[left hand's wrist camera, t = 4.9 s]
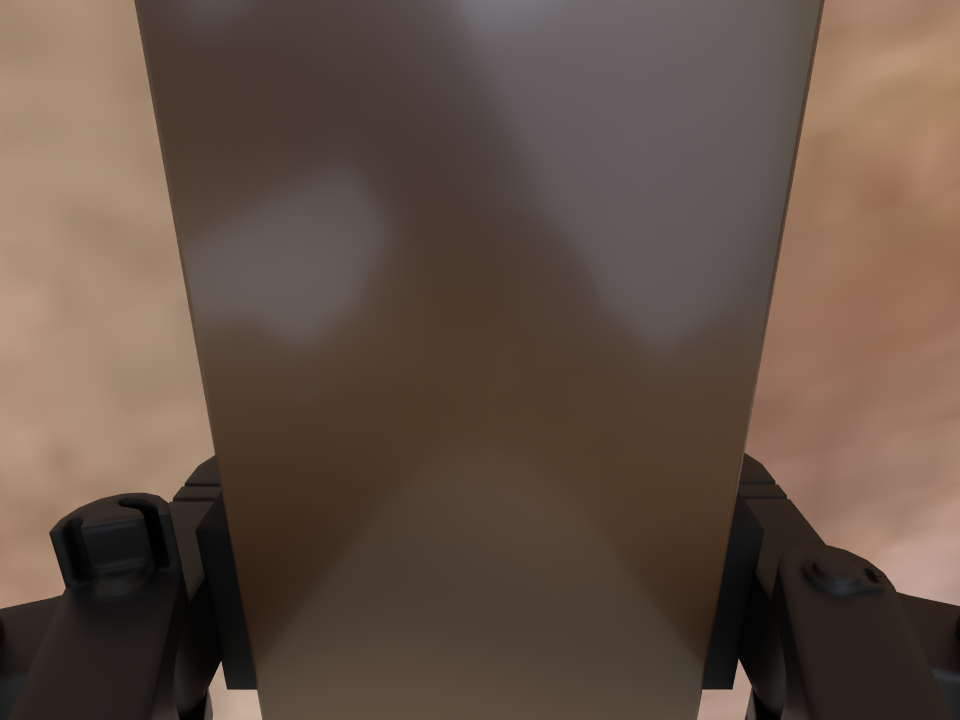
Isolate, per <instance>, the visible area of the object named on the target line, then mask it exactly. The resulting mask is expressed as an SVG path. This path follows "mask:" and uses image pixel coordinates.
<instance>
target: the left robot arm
mask: <svg viewBox="0 0 960 720" xmlns="http://www.w3.org/2000/svg"><path fill="white" fill-rule="evenodd" d="M49 534H50V537H51V540H52V544H53V547H54V550H55V553H56V557H57V560H58V563H59V566H60V570H61V573H62V576H63V580H64V583H65V586H66V589H65V591H64V593H63V595H61V596H57V597H53V598H49V599H45V600H40V601H35V602H31V603H26V604H21V605H17V606H12V607H7V608H3V609H0V720H213V710H212V703H211V698H210V693H209V685H210V683H211V681H212V679H213V677H214V675H215V673H216V670H217V668H218V666H219V664H220V662H221V661H222V666H223V671H224V676H225V681H226V686H227V690H257V686H256V680H255V675H254V669H253V663H252V658H251V652H250V647H249V641H248V635H247V630H246V624H245V618H244V613H243V607H242V602H241V596H240V590H239V585H238V579H237V573H236V568H235V562H234V557H233V551H232V545H231V540H230V534H229V529H228V523H227V517H226V512H225V506H224V500H223V495H222V489H221V484H220V478H219V472H218V467H217V461H216V455H215V456H213V457H211V458H210V459H208V460H207V461H205V462H204V463H202V464H201V465H199V466H198V467H197V468H196V470H195V471H194V472H193V473H192V475H191V476H190V477H189V479H188V480H187V481H186V482H185V487H181V489H180V490H179V491H178V492H177V494H176V495H175V496H174V497H173V502H170V503H169V504H168V503H167V502H166V501H165V500H164V499H162V498H161V497H160V496H157V495H152V494H147V493H127V494H119V495H115V496H111V497H106V498H102V499H99V500H97V501H94V502H92V503H89V504H87V505H84V506H82V507H80V508H78V509H76V510H75V511H73V512H72V513H70V514H68V515H67V516H65V517H64V518H62V519H61V520H60V521H59V522H58V523H57V524H56V525H55V527H54V528H53V529H52V530H51V531H50V532H49ZM738 659H739V660H740V662H741V664H742V666H743V668H744V670H745V672H746V674H747V677H748V679H749V681H750V683H751V685H752V688H751V693H750V698H749V702H748V707H747V711H746V716H745V720H960V606H956V605H952V604H947V603H942V602H938V601H933V600H928V599H923V598H919V597H914V596H909V595H906V594H902V593H899V592H896V590H895V587H894V586H893V585H892V583H891V582H890V581H889V579H888V578H887V576H886V575H885V574H884V573H883V572H882V571H881V570H879V569H878V568H877V567H875V566H874V565H873V564H871V563H870V562H869V561H867V560H866V559H864V558H861V557H859V556H857V555H855V554H853V553H851V552H849V551H847V550H843V549H840V548H836V547H832V546H828V545H826V544H825V543H824V542H823V540H822V539H821V538H820V537H819V535H818V534H817V533H816V532H815V530H814V529H813V528H812V527H811V525H810V524H809V523H808V522H807V520H806V519H805V518H804V517H803V515H802V514H801V513H800V511H799V510H798V509H797V508H796V506H795V505H794V504H793V503H792V501H791V500H790V499H787V495H786V494H785V493H784V491H783V490H782V489H781V488H780V486H779V485H776V484H775V480H774V479H773V478H772V476H771V475H770V474H769V473H768V471H767V470H766V469H765V468H764V466H763V465H762V464H761V463H760V462H758V461H756V460H755V459H753V458H752V457H750V456H749V455H747V454H746V453H744V457H743V463H742V468H741V474H740V480H739V485H738V491H737V497H736V502H735V508H734V513H733V519H732V525H731V530H730V536H729V542H728V547H727V553H726V559H725V564H724V570H723V575H722V581H721V587H720V592H719V598H718V604H717V609H716V615H715V621H714V626H713V632H712V637H711V643H710V649H709V654H708V660H707V666H706V671H705V677H704V683H703V688H702V689H733V684H734V679H735V674H736V669H737V664H738Z"/></svg>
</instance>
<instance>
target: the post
mask: <svg viewBox="0 0 960 720" xmlns="http://www.w3.org/2000/svg"><path fill="white" fill-rule="evenodd" d="M824 1H825V0H135V6H136V11H137V17H138V23H139V28H140V34H141V39H142V45H143V51H144V56H145V62H146V68H147V73H148V79H149V84H150V90H151V96H152V101H153V107H154V113H155V118H156V124H157V129H158V135H159V141H160V146H161V152H162V157H163V163H164V169H165V174H166V180H167V186H168V191H169V197H170V202H171V208H172V214H173V219H174V225H175V231H176V236H177V242H178V247H179V253H180V259H181V264H182V270H183V276H184V281H185V287H186V292H187V298H188V304H189V309H190V315H191V321H192V326H193V332H194V337H195V343H196V349H197V354H198V360H199V365H200V371H201V377H202V382H203V388H204V394H205V399H206V405H207V410H208V416H209V422H210V427H211V433H212V439H213V444H214V450H215V455H216V461H217V467H218V472H219V478H220V484H221V489H222V495H223V500H224V506H225V512H226V517H227V523H228V529H229V534H230V540H231V545H232V551H233V557H234V562H235V568H236V573H237V579H238V585H239V590H240V596H241V602H242V607H243V613H244V618H245V624H246V630H247V635H248V641H249V647H250V652H251V658H252V663H253V669H254V675H255V680H256V686H257V692H258V697H259V703H260V708H261V714H262V720H697V716H698V711H699V705H700V699H701V694H702V688H703V683H704V677H705V671H706V666H707V660H708V654H709V649H710V643H711V637H712V632H713V626H714V621H715V615H716V609H717V604H718V598H719V592H720V587H721V581H722V575H723V570H724V564H725V559H726V553H727V547H728V542H729V536H730V530H731V525H732V519H733V513H734V508H735V502H736V497H737V491H738V485H739V480H740V474H741V468H742V463H743V457H744V451H745V446H746V440H747V435H748V429H749V423H750V418H751V412H752V406H753V401H754V395H755V389H756V384H757V378H758V373H759V367H760V361H761V356H762V350H763V344H764V339H765V333H766V327H767V322H768V316H769V311H770V305H771V299H772V294H773V288H774V282H775V277H776V271H777V266H778V260H779V254H780V249H781V243H782V237H783V232H784V226H785V220H786V215H787V209H788V203H789V198H790V192H791V187H792V181H793V175H794V170H795V164H796V158H797V153H798V147H799V142H800V136H801V130H802V125H803V119H804V113H805V108H806V102H807V96H808V91H809V85H810V80H811V74H812V68H813V63H814V57H815V51H816V46H817V40H818V34H819V29H820V23H821V18H822V12H823V6H824Z"/></svg>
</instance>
